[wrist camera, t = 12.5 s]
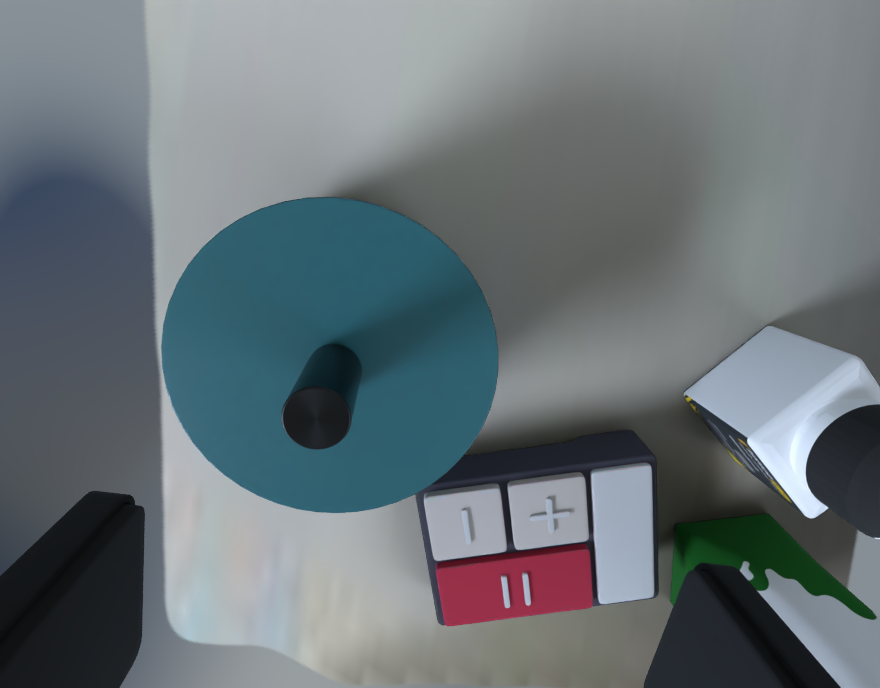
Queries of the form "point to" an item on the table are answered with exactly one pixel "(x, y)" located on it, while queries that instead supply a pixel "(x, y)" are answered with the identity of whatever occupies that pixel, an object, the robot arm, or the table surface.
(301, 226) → the lid
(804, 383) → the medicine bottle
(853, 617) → the milk carton
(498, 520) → the calculator
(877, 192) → the table surface
